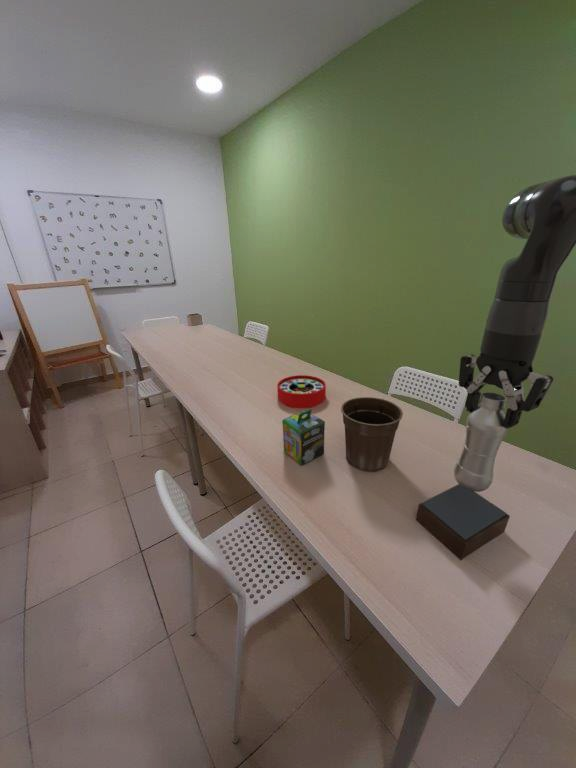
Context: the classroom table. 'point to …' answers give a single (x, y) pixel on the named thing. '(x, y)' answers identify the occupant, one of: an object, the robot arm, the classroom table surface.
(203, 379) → the classroom table surface
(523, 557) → the classroom table surface
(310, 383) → the toy clock
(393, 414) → the plant pot
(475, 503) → the step block
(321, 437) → the chalk box
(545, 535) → the classroom table surface
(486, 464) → the plastic bottle
